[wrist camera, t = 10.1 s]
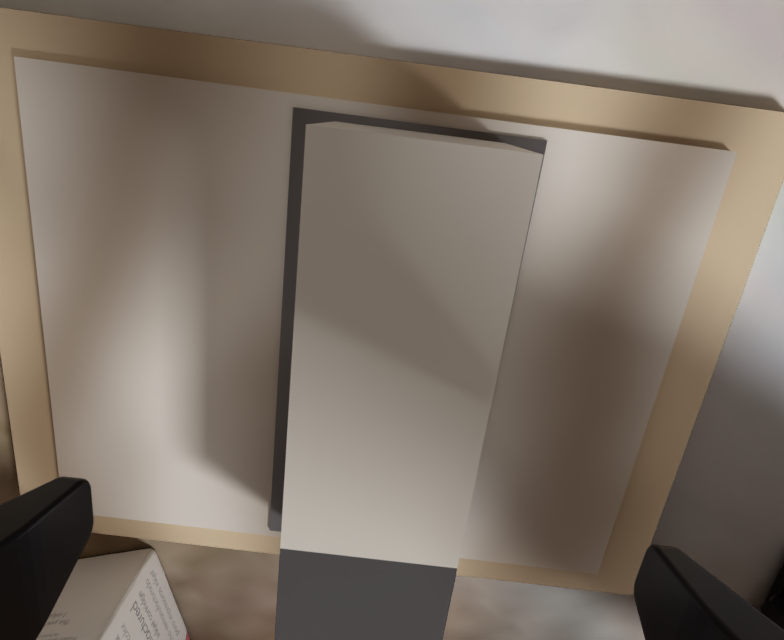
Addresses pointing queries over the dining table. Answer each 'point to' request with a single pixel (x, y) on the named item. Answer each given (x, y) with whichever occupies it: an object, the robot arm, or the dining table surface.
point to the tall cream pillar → (393, 371)
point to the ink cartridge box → (116, 601)
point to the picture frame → (279, 274)
